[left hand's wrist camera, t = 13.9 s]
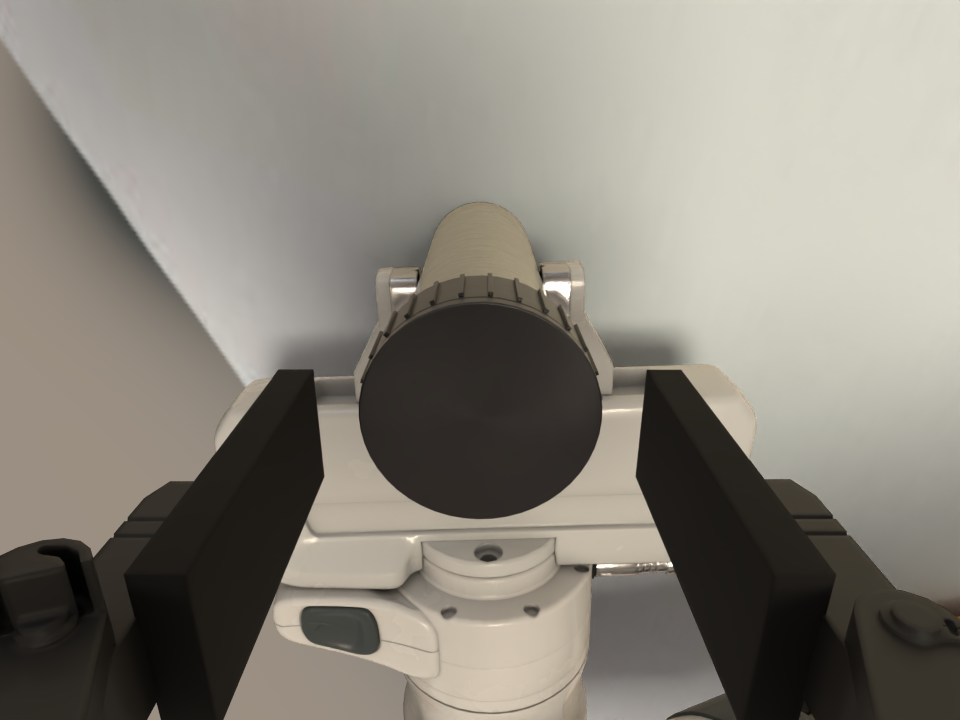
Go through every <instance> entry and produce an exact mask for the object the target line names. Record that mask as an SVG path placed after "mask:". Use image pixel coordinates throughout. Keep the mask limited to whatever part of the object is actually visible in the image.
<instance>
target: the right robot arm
mask: <svg viewBox="0 0 960 720" xmlns="http://www.w3.org/2000/svg"><path fill="white" fill-rule="evenodd" d="M539 273H540V276H541V279H542V282H543V285H544V288H545V291H546V294H547V297H548V298H550V299H551V300H552V301H553V302H554V303H556V304H557V305H558V306H559V305H560V304H561V305H562V306H563V307H564V309H565V312H566V314H567V316H568V317H569V319H570V320H571V321H572V323H573V325H575V324H577V325H578V326H579V328H580V331H581V333H582V336H583V338H584V340H585V343H586V345H587V347H588V349H589V351H590V354H591V356H592V358H593V361H594V363H595V365H596V368H597V370H598V373H599V375H597V380H598V383H599V387H600V391H601V394H602V398H603V400H602V423H601V429H600V434H599V437H598V440H597V443H596V446H595V449H594V451H593V453H592V455H591V457H590V459H589V461H588V462H587V464H586V465H585V467H584V468H583V470H582V471H581V473H580V474H579V475H578V476H577V477H576V478H575V479H574V481H573V482H572V483H571V484H570V485H569V486H567V487H566V488H565V489H564V490H563V491H562V492H561V493H559V494H558V495H556V496H555V497H553V498H552V499H550V500H549V501H547V502H545V503H543V504H542V505H540V506H538V507H536V508H533V509H531V510H528V511H526V512H523V513H520V514H516V515H512V516H508V517H502V518H495V519H466V518H459V517H454V516H448V515H445V514H442V513H438V512H435V511H433V510H430V509H428V508H426V507H423V506H421V505H419V504H417V503H416V502H414V501H412V500H410V499H409V498H407V497H406V496H405V495H403V494H402V493H401V492H399V491H398V490H397V489H396V488H395V487H394V486H392V485H391V484H390V483H389V482H388V481H387V480H386V479H385V477H384V476H383V475H382V474H381V472H380V471H379V470H378V469H377V467H376V465H375V464H374V462H373V461H372V459H371V457H370V455H369V453H368V451H367V449H366V446H365V444H364V441H363V437H362V434H361V430H360V423H359V397H360V391H361V386H362V383H360V381H361V378H362V375H363V373H364V370H365V368H366V366H367V363H368V361H369V358H368V357H369V355H370V352H371V350H372V348H373V345H374V343H375V341H376V338H377V336H378V334H379V332H380V331H382V332H384V330H385V327H386V326H387V324H388V321H389V319H390V317H391V314H392V312H393V311H394V310H396V311H398V310H399V309H400V308H401V307H402V306H403V305H404V304H405V303H407V302H408V301H409V299H410V296H411V295H412V294H413V293H415V291H416V288H417V285H418V282H419V279H420V276H421V270H420V267H394V268H393V267H388V268H380V269H379V271H378V273H377V274H376V281H375V291H376V301H377V311H378V322H377V324H376V326H375V328H374V330H373V332H372V335H371V337H370V339H369V341H368V343H367V345H366V347H365V349H364V351H363V353H362V355H361V357H360V360H359V362H358V364H357V366H356V368H355V370H354V372H353V376H333V377H314V381H315V390H316V400H317V409H318V419H319V428H320V438H321V447H322V457H323V466H324V476H325V477H324V479H323V482H322V484H321V486H320V489H319V491H318V494H317V496H316V498H315V501H314V503H313V506H312V508H311V510H310V513H309V515H308V518H307V520H306V522H305V525H304V527H303V530H302V532H301V534H300V537H299V539H298V542H297V544H296V546H295V549H294V551H293V554H292V556H291V558H290V561H289V563H288V566H287V568H286V570H285V573H284V575H283V578H282V580H281V582H280V585H279V587H278V590H277V593H276V598H275V602H274V607H273V618H274V623H275V627H276V629H277V631H278V633H279V634H280V635H281V636H282V637H284V638H286V639H287V640H290V641H292V642H295V643H299V644H304V645H308V646H313V647H318V648H322V649H327V650H331V651H336V652H340V653H344V654H348V655H352V656H355V657H359V658H362V659H366V660H369V661H372V662H375V663H378V664H381V665H384V666H387V667H389V668H392V669H394V670H397V671H399V672H402V673H404V675H405V678H406V679H407V685H406V688H405V695H404V703H403V708H404V709H403V710H404V720H587V704H586V693H585V688H584V684H583V681H582V678H581V675H582V672H583V669H584V667H585V664H586V661H587V656H588V651H589V641H590V618H591V595H592V586H591V582H592V579H593V578H594V576H595V577H599V576H629V575H636V574H642V573H643V574H644V573H648V572H649V573H654V572H656V573H658V572H665V574H676V573H675V570H674V568H673V566H672V563H671V561H670V558H669V556H668V554H667V551H666V549H665V546H664V544H663V542H662V539H661V537H660V534H659V532H658V530H657V527H656V525H655V522H654V520H653V518H652V515H651V513H650V510H649V508H648V506H647V503H646V501H645V498H644V496H643V494H642V491H641V489H640V486H639V484H638V482H637V479H636V477H635V476H636V466H637V457H638V447H639V438H640V428H641V419H642V409H643V400H644V390H645V381H646V371H647V370H682V371H683V372H684V374H685V375H686V376H687V378H688V379H689V380H690V382H691V383H692V384H693V386H694V387H695V388H696V390H697V391H698V392H699V394H700V395H701V396H702V398H703V399H704V400H705V402H706V403H707V404H708V406H709V407H710V408H711V409H712V411H713V412H714V413H715V415H716V416H717V417H718V419H719V420H720V421H721V423H722V424H723V425H724V427H725V428H726V429H727V431H728V432H729V433H730V435H731V436H732V437H733V439H734V440H735V441H736V442H737V444H738V445H739V446H740V448H741V449H742V450H743V452H744V453H745V454H746V456H747V457H748V458H749V460H750V456H751V451H752V447H753V442H754V438H755V432H756V416H755V413H754V410H753V408H752V406H751V405H750V403H749V402H748V400H747V399H746V397H745V396H744V395H743V393H742V392H741V391H740V389H739V388H738V387H737V386H736V385H735V384H734V383H733V382H732V381H731V380H730V379H729V378H728V377H727V376H726V375H725V374H724V373H722V372H721V371H720V370H719V369H718V368H716V367H715V366H713V365H707V364H696V365H666V366H636V367H613V363H612V361H611V359H610V357H609V355H608V353H607V351H606V349H605V346H604V344H603V343H602V341H601V339H600V338H599V336H598V334H597V332H596V331H595V329H594V327H593V326H592V324H591V322H590V321H589V319H588V317H587V315H586V314H585V312H584V298H585V276H584V268H583V266H582V265H581V263H580V261H560V262H540V263H539ZM271 379H272V378H268V379H258V380H255V381H253V382H252V383H250V384H249V385H248V386H247V387H246V388H245V389H244V391H243V392H242V393H241V394H240V395H239V396H238V397H237V398H236V399H235V400H234V401H233V403H232V404H231V405H230V407H229V408H228V410H227V411H226V412H225V414H224V415H223V417H222V419H221V420H220V422H219V424H218V426H217V429H216V432H215V438H214V445H215V452H217V450H218V449H219V448H220V446H221V445H222V444H223V442H224V441H225V440H226V439H227V437H228V436H229V435H230V433H231V432H232V431H233V429H234V428H235V427H236V425H237V424H238V423H239V421H240V420H241V419H242V417H243V416H244V415H245V413H246V412H247V411H248V409H249V408H250V407H251V406H252V404H253V403H254V402H255V400H256V399H257V398H258V396H259V395H260V394H261V392H262V391H263V390H264V388H265V387H266V386H267V384H268V383H269V382H270V380H271ZM666 720H737V719H736V717H735V714H734V712H733V710H732V707H731V705H730V702H729V700H728V698H727V695H726V693H725V694H722V695H720V696H717V697H715V698H712V699H710V700H707V701H705V702H702V703H700V704H698V705H695V706H693V707H690V708H688V709H685V710H683V711H680V712H678V713H675V714H674V715H672V716H670V717H669V718H667V719H666ZM799 720H814V719H813V718H811V717H810V716H808V715H807V714H805V713H803V712H801V714H800V718H799Z"/></svg>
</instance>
